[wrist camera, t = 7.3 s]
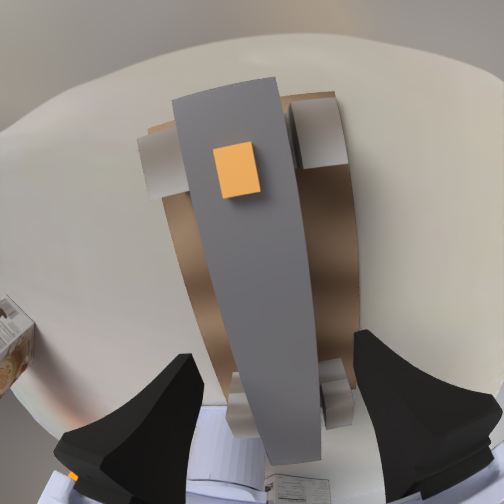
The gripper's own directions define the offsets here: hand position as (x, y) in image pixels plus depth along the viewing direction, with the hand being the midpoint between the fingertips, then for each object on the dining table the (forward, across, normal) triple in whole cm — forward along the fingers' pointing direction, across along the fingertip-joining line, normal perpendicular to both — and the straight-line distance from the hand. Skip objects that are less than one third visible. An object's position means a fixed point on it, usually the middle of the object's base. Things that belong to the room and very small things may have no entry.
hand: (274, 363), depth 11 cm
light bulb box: (+9, +2, +38) cm, 39 cm away
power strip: (+5, 0, 0) cm, 5 cm away
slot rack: (+9, 0, 0) cm, 9 cm away
